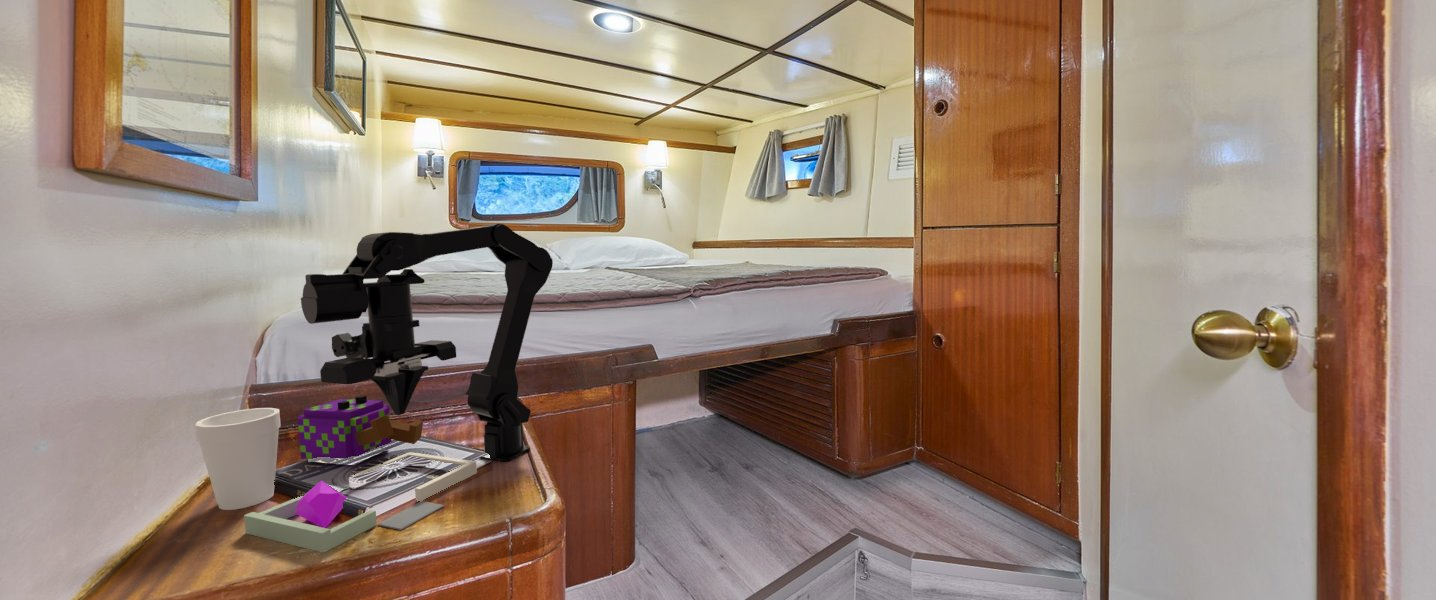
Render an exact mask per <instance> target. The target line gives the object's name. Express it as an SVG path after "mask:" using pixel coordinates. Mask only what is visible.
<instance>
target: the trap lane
mask: <svg viewBox="0 0 1436 600" xmlns="http://www.w3.org/2000/svg"><path fill="white" fill-rule="evenodd" d="M407 456H414V457H420V458H425V459H430V460H435V461H440V462H444V463H455V464H461V465H462V466H460V467H458V468H456V469H454V470H452V471H450V472H448V471H447V472H446V473H443V474H441V475H439V476H438V477H434V479H431V480H429V481H427V482H425V483H423V484H421V485H419V486H416V487H415V488H414V493H415V501H416V500H417V501H416V502H418V501H420V502H421V501H423V500H424V499H426V498H428V497H430V496H432V495H434V494H436V493H437V494H439V493H441V492H442V491H441V490H443V491H445V490H447V489H449V488H451V487H452V486H451V485H453V486H455V485H457V484H458V482H459V483H460V481H461V482H462V481H464V480H466V479H468V478H470V477H472V476H475V475H476V474H477V473H478V469H477V468H478V467H477V461H475V460H469V459H462V458H456V457H455V458H454V457H447V456H441V455H435V454H434V455H433V454H427V453H419V452H412V451H408V452H407V453H403V454H401V455H399V456H395V457H394V458H391V459H389V460H386V461H384V462H382V463H383V465H386V464H389V463H392V462H395V461H398V460H400V459H403V458H406V457H407ZM380 466H382V465H381V463H379V464H377V465H374V466H371V467H370V468H367V469H365V470H361V471H359V472H357V473H354V474H355V475H354V474H352V475H351V476H355V477H356V476H359V475H361V474H364V473H366V472H368V471H370V470H373V469H376V468H378V467H380ZM456 483H457V484H456ZM454 484H455V485H454ZM450 486H451V487H450ZM448 487H449V488H448ZM446 488H447V489H446ZM444 489H445V490H444ZM440 491H441V492H440ZM438 492H439V493H438ZM437 494H436V495H437ZM299 496H300V497H299ZM299 496H297V498H296V497H294V498H295V499H294V498H292V500H291V499H289V500H290V501H289V500H287V502H286V501H284V502H285V503H284V502H282V503H283V504H282V503H280V504H278V505H276V506H273V507H270V508H268V509H266V510H263V511H261V512H260V511H259V512H254V511H251V512H249V513H246V514H244V515H243V519H244V530H245V534H247V535H251V536H256V537H259V538H263V539H267V540H271V541H276V542H279V543H284V544H288V545H292V546H295V547H300V548H304V549H308V550H311V551H315V552H320V553H326V552H327V551H330V550H331V549H333V548H335V547H338V546H339V545H341V544H343V543H345V542H347V541H350V540H351V539H353V538H354V537H356V536H359V535H360V534H363V533H364V532H366V531H367V530H368V531H369V530H370V529H372V528H374V527H376V526H378V523H377V522H378V521H377V512H376V510H374V509H373V510H372V509H370V510H368V511H366V512H364V513H362V514H359V515H357V516H355V517H353V518H351V519H348V520H347V521H345V522H343V523H340V524H338V525H335V526H334V527H332V528H327V527H326V528H322V527H320V526H318V525H313V524H309V523H304V522H301V521H300V522H299V521H295V520H291V519H290V518H291V517H294V516H296V515H297V514H296V509H297V505H298V502H299V500H300V498H301V497H303V496H301V495H299ZM434 496H435V495H434ZM432 497H433V496H432ZM430 498H431V497H430ZM428 499H429V498H428ZM426 500H427V499H426ZM424 501H425V500H424ZM297 516H298V515H297Z"/></svg>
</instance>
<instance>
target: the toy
mask: <svg viewBox="0 0 1436 600" xmlns="http://www.w3.org/2000/svg"><path fill="white" fill-rule="evenodd" d="M390 415H391V413H390V405H389V404H385V403H384V400H374V399H372V400H371V399H369V400H368V399H367V395H358V396H355V399H349V398H347V399H346V398H339V399H335V400H332V401H329V402H326V403H322V404H319V405H316V406H312V407H308V408H305V409H303V414H301V415H299V416H298V415H297V416H298V418H297V429H298V443H299V453H300V459H301V460H302V459H303V460H308V459H313V458H317V457H330V458H348V457H351V456H359V455H361V454H363V453H365V452H368V451H370V450H372V449H374V448H377V447H379V446H382V445H385V444H388V443H390V442H392V440H393V441H398V442H401V443H406V444H411V445H415V444H416V443H418V441H419V440H420V439H421V438H422V433H423V427H424V420H421V419H415V420H414V421H412V422H411V423H408V422H403V421H397V420H395V419H391V416H390ZM392 443H393V442H392Z"/></svg>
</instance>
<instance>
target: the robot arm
mask: <svg viewBox="0 0 1436 600" xmlns="http://www.w3.org/2000/svg"><path fill="white" fill-rule="evenodd" d="M487 248H488V250H490V251H491V253H492V254H493V255H494V257H495V258H496V259H497V260H498V261H499V262H501V263H502V264H504V265H505V268H504V280H505V283H506V288H507V293H506V296H505V300H504V304H503V307H502V310H501V315H500V317H499V321H498V325H497V329H496V331H495V337H494V340H493V343H492V346H491V347H492V348H491V351H490V354H489V358H488V362H487V365H486V366H485V367H484V368H483V370H482V371H481V372H480V373H479V372H472V373H471V376H470V381H469V386H468V389H467V390H466V392H465V395H466V396H467V405H468V406H469V408H470V410H471V411H472V412H473V413H475V414H476V416H477V418H478V420H479V421H480V422H482V421H483V422H485V424H484V434H483V442H484V446H483V447H484V452H485V453H488V454H489V455H490V458H491V459H490V460H494V461H502V462H509V461H510V460H513V459H514V458H516V457H518V456H521V455H522V454H524V453H525V452H527V451H530V450H531V446H530V445H524V429H523V427H524V426H523V425H524V423H528V422H529V420H530V416H531V412H532V411H531V409H530V408H528V407H527V406H526V405H524V403H522V402H521V401H520V400H518V397H519V388H520V386H519V385H520V384H519V382H518V381H519V380H518V376H517V371H516V369H517V365H518V360H519V357H520V354H521V349H522V345H523V342H524V339H525V334H526V331H527V327H528V323H529V319H530V315H531V312H532V307H533V303H534V300H535V297H536V295H537V294H538V293H539V292H540V290H541V289H543V286H545V284H546V283H547V280H548V278H549V277H550V274H551V271H552V268H553V264H554V262H553V258H552V256H551V255H550V252H549V251H547V249H545V248H544V247H541V246H540V247H539V246H538V245H536V243H534V242H533V241H532V240H529V239H528V238H525V237H524V236H522V235H520V234H518V233H516V232H515V231H514V230H513V229H511V227H508V226H507V225H505V224H503V223H492V224H491V223H489V224H484V225H483V226H477V227H471V228H464V229H456V230H454V229H453V230H447V231H439V232H432V233H417V232H398V231H388V232H380V233H379V232H377V233H375V232H374V233H370V234H367V235H365V236H363V237H361V240H360V241H359V242H358V243H357V246H356V255H355V256H354V257H353V258H352V260H351V262H350V263H349V264H348V265H347V267H346V268H345V269H344V271H343V273H339V274H323V273H322V274H320V273H317V274H316V273H314V274H313V273H310V274H305V275H304V276H305V284H304V286H303V289H302V296H301V297H300V303H301V310H302V313H303V316H304V319H305V320H306V321H307V322H308V323H309V324H311V325H313V324H323V323H330V322H341V321H349V320H350V321H351V320H357V319H360V318H361V317H362V314H363V313H368V314H367V315H368V316H367V317H368V322H365V323H363V322H362V327H361V334H359V335H355V336H354V335H353V336H352V335H351V333H349V332H346V333H339V334H335V335H333V336H332V337H331V350H332V352H333V355H334V356H335V357H336V358H339V359H335V360H330V361H325V362H324V363H323V365H322V367H321V368H320V371H319V372H320V382H321V383H328V384H337V385H338V384H341V385H353V384H357V383H362V382H365V381H369V380H371V381H372V382H373V383H375V384H376V386H378V388H379V389H380V390H381V392H382V394H383V396H384V397H385V399H386V401H387V403H388V405H389V407H390V408H391V410H392V412H393V413H394V415H395V416H401V415H404V414H405V413H406V410H407V408H408V406H409V403H410V401H411V399H412V396H413V395H414V392H415V390H416V388H417V386H418V383H419V382H420V380H421V379H422V377H423V375H424V373H425V371H428V370H429V366H427V365H423V363H422V360H425V359H428V358H429V359H430V358H434V357H437V358H438V359H439V360H440V361H446V360H450V359H451V360H452V359H456V358H457V347H456V345H455V344H454V343H453V341H451V340H433V339H432V340H426V341H422V342H417V343H416V342H415V330H414V328H416V327H417V328H419V327H420V320H419V319H413V318H414V317H413V307H412V295H411V294H412V293H411V285H418V284H419V285H421V284H424V283H425V282H426V281H425V278H422V277H421V276H420V275H418V274H417V273H416V272H415V271H414V269H412V268H410V267H413V266H416V265H418V264H421V263H423V262H424V261H427V260H429V259H431V258H435V257H437V256H444V255H449V254H456V253H462V252H468V251H473V250H480V249H487ZM391 271H393V272H395V271H401V272H400V273H397V274H396V273H395V274H389V273H390V272H391ZM372 279H376V281H374V282H364V280H372ZM340 357H343V358H340Z"/></svg>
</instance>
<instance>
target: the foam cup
mask: <svg viewBox="0 0 1436 600" xmlns="http://www.w3.org/2000/svg"><path fill="white" fill-rule="evenodd" d="M281 423H282V422H281V415H280V408H273V407H256V408H247V409H239V410H233V411H229V412H223V413H220V414H215V415H212V416H208V417H204V418H202V419H200V420H197V421H196V423H195V435H196V442H198V444H199V445H200V450H201V454H202V456H203V459H204V463H205V466H206V470H207V474H208V476H209V477H208V478H209V479H210V483H211V486H212V490H213V493H214V494H213V495H214V497H215V500H216V503H217V506H218V509H220V510H223V511H224V510H225V511H232V510H239V509H245V508H249V507H251V506H255V505H259V504H261V503H263V502H266V501H268V500H270V499H271V498H273V496H274V495H275V494H274V492H275V485H274V482H275V483H276V470H277V457H278V446H279V444H278V443H279V433H280V432H279V430H280V429H279V428H281V426H282V425H281ZM274 480H275V481H274Z"/></svg>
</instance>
